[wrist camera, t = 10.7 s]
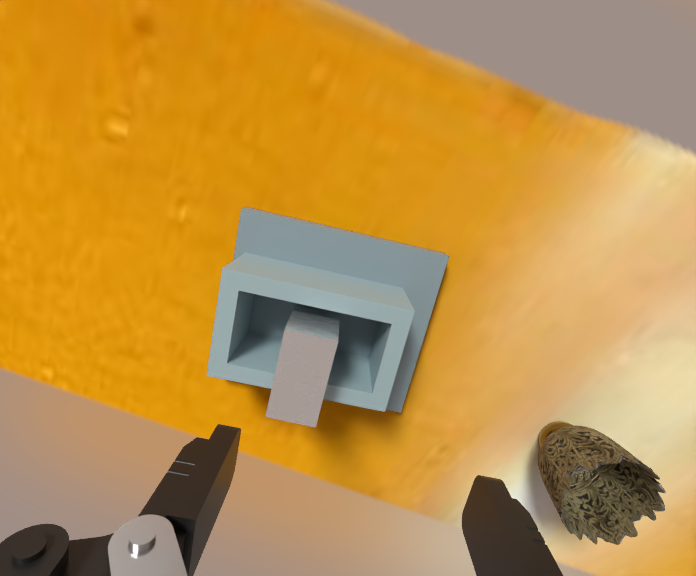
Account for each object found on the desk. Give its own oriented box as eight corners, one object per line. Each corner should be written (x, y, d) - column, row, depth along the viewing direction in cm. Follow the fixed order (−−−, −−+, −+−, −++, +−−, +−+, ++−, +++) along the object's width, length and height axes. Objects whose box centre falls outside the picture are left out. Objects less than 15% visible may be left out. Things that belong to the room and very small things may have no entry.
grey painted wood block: (340, 300, 30) (338, 341, 22) (323, 367, 31) (315, 427, 24) (300, 290, 30) (284, 329, 22) (285, 359, 31) (265, 416, 24)
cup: (550, 482, 36) (605, 562, 29) (498, 438, 35) (541, 510, 27) (612, 431, 35) (688, 502, 27) (560, 384, 34) (623, 444, 26)
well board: (444, 252, 30) (472, 273, 24) (398, 402, 34) (411, 457, 27) (246, 206, 29) (216, 214, 23) (221, 366, 33) (189, 413, 26)
